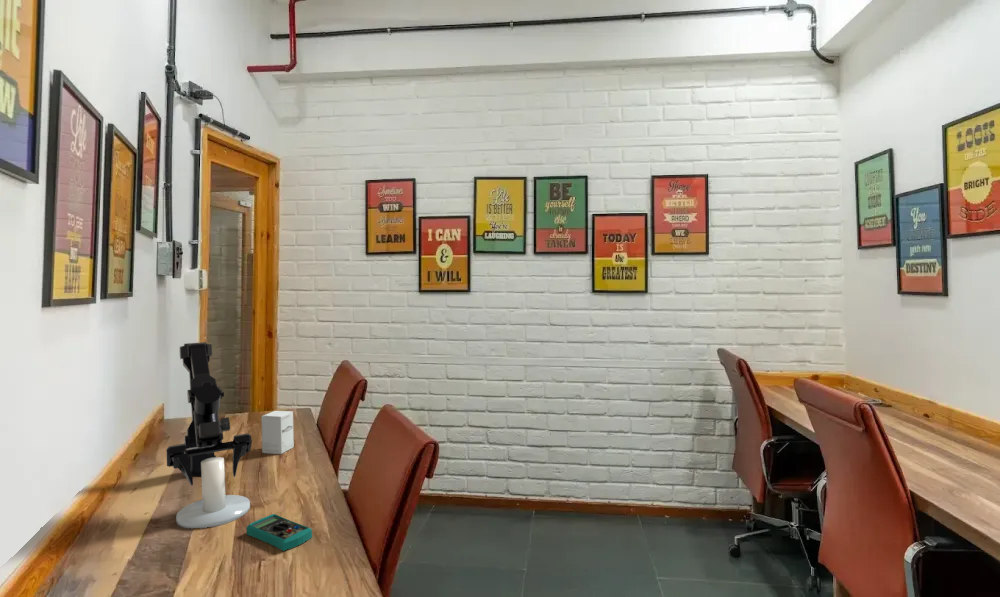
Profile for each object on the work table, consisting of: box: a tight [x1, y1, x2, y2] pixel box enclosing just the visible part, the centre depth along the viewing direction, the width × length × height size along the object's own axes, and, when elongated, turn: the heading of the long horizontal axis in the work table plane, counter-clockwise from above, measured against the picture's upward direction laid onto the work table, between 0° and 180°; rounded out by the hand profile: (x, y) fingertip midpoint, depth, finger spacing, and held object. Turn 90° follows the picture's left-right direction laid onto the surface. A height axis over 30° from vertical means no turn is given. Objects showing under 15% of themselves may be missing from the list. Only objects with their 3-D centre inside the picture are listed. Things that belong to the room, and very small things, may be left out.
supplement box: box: [260, 410, 295, 455], centre depth 177 cm, size 7×7×13 cm
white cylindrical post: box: [200, 456, 226, 513], centre depth 130 cm, size 5×5×12 cm
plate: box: [175, 494, 251, 530], centre depth 131 cm, size 16×16×1 cm
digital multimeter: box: [246, 513, 313, 552], centre depth 118 cm, size 7×15×3 cm, turn 57°
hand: (213, 480), depth 129 cm, fingers open, 9 cm apart
